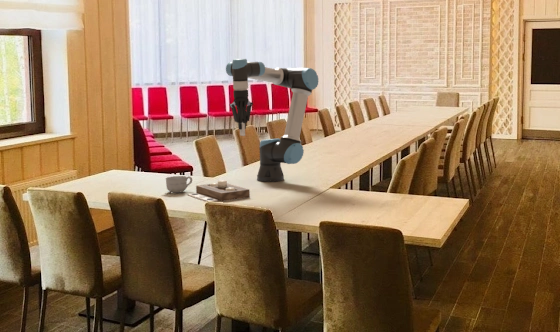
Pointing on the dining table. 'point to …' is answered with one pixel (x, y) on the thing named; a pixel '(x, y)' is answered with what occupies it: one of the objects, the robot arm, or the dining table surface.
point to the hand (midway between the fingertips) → (242, 135)
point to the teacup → (177, 183)
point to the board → (223, 192)
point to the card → (202, 197)
